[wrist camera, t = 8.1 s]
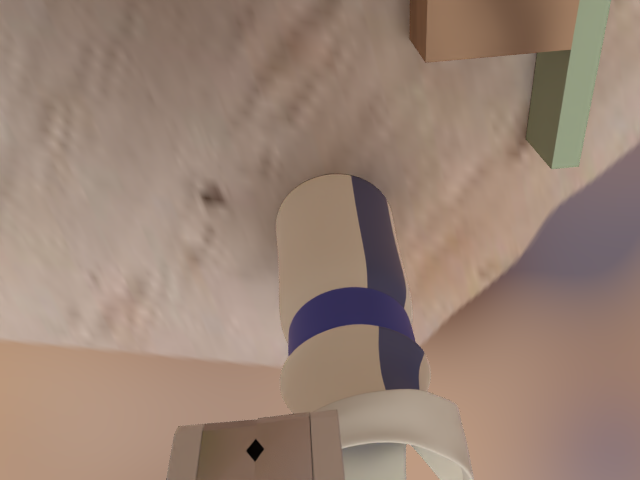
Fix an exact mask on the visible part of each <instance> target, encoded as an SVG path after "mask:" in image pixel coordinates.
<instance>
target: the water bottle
mask: <svg viewBox="0 0 640 480" xmlns="http://www.w3.org/2000/svg"><path fill="white" fill-rule="evenodd" d="M276 237H277V248H278V263H279V312H280V320H281V326H282V330H283V333H284V336H285V339H286V341H287V343H288V353H289V357H288V358H287V360H286V362H285V363H284V365H283V368H282V370H281V375H280V391H281V395H282V398H283V400H284V402H285V404H286V405H287V407H288V408H289V409H290V410H291V412H292V413H293V414H296V413H305V412H310V413H311V412H319V411H328V410H336V409H337V412H338V418H339V427H340V436H341V445H342V455H343V464H344V473H345V480H406V444H410V445H411V446H412V447H413V448H414V449H415V450H416V451H417V452H418V454H419V455H420V456H421V457H422V458H423V459H424V460H425V462H426V463H427V464H428V465H429V467H430V468H431V469H432V470H433V471H434V473H435V474H436V475H437V477H438V478H439V479H440V480H474V477H473V472H472V467H471V462H470V456H469V451H468V447H467V442H466V437H465V434H464V430H463V427H462V423H461V418H460V413H459V409H458V406H457V405H456V404H455V403H454V402H452V401H450V400H448V399H446V398H443V397H440V396H438V395H435V394H432V393H430V392H427V390H428V388H429V385H430V380H431V370H430V364H429V361H428V358H427V356H426V354H425V353H424V351H423V350H422V349H421V347H420V346H419V345H418V344H417V343H416V342H415V338H414V334H413V330H412V327H411V326H412V318H413V307H412V300H411V294H410V290H409V286H408V282H407V278H406V274H405V270H404V267H403V263H402V259H401V255H400V251H399V246H398V242H397V237H396V232H395V227H394V221H393V216H392V211H391V208H390V205H389V203H388V201H387V199H386V198H385V196H384V195H383V194H382V193H381V192H380V191H379V190H378V189H377V188H376V187H375V186H374V185H372V184H371V183H369V182H367V181H365V180H363V179H361V178H358V177H355V176H351V175H344V174H330V175H323V176H319V177H315V178H313V179H310V180H308V181H306V182H304V183H302V184H301V185H299V186H298V187H296V188H295V189H294V190H293V191H292V192H290V193H289V195H288V196H287V197H286V198H285V200H284V201H283V203H282V204H281V206H280V208H279V211H278V214H277V218H276Z"/></svg>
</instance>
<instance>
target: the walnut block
mask: <svg viewBox="0 0 640 480" xmlns="http://www.w3.org/2000/svg"><path fill="white" fill-rule="evenodd" d="M579 1H580V0H410V40H411V42H412V43H413V45H414V46H415V48H416V49H417V51H418V52H419V54H420V55H421V57H422V58H423V60H424V61H425V63H427V62H438V61H450V60H461V59H472V58H483V57H494V56H505V55H517V54H528V53H539V52H550V51H561V50H571V47H572V41H573V35H574V30H575V24H576V18H577V12H578V7H579Z"/></svg>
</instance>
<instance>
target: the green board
mask: <svg viewBox="0 0 640 480" xmlns="http://www.w3.org/2000/svg"><path fill="white" fill-rule="evenodd" d="M610 3H611V0H580V1H579V7H578V12H577V18H576V24H575V30H574V35H573V41H572V47H571V50H561V51H550V52H539V53H537V57H536V65H535V73H534V80H533V88H532V95H531V103H530V111H529V118H528V126H527V133H526V140H527V141H528V142H529V143H530V145H531V146H532V147H533V148H534V149H535V150H536V152H537V153H538V154H539V155H540V156H541V158H542V159H543V160H544V161H545V162H546V163H547V165H548V166H549V167H550V168H551V169H558V168H569V167H579V163H580V157H581V152H582V147H583V142H584V137H585V132H586V127H587V121H588V116H589V111H590V106H591V101H592V96H593V91H594V85H595V80H596V75H597V70H598V65H599V60H600V55H601V49H602V44H603V39H604V34H605V29H606V24H607V19H608V13H609V8H610Z"/></svg>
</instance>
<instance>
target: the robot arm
mask: <svg viewBox="0 0 640 480" xmlns="http://www.w3.org/2000/svg"><path fill="white" fill-rule="evenodd" d="M166 480H345V473H344V464H343V455H342V445H341V436H340V427H339V418H338V412H337V409H336V410H328V411H319V412H311V413H310V412H305V413H296V414H289V415H281V416H273V417H264V418H258V419H257V420H244V421H232V422H220V423H208V424H197V425H187V426H178V428H177V430H176V432H175V434H174V439H173V444H172V450H171V456H170V461H169V467H168V472H167V478H166Z"/></svg>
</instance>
